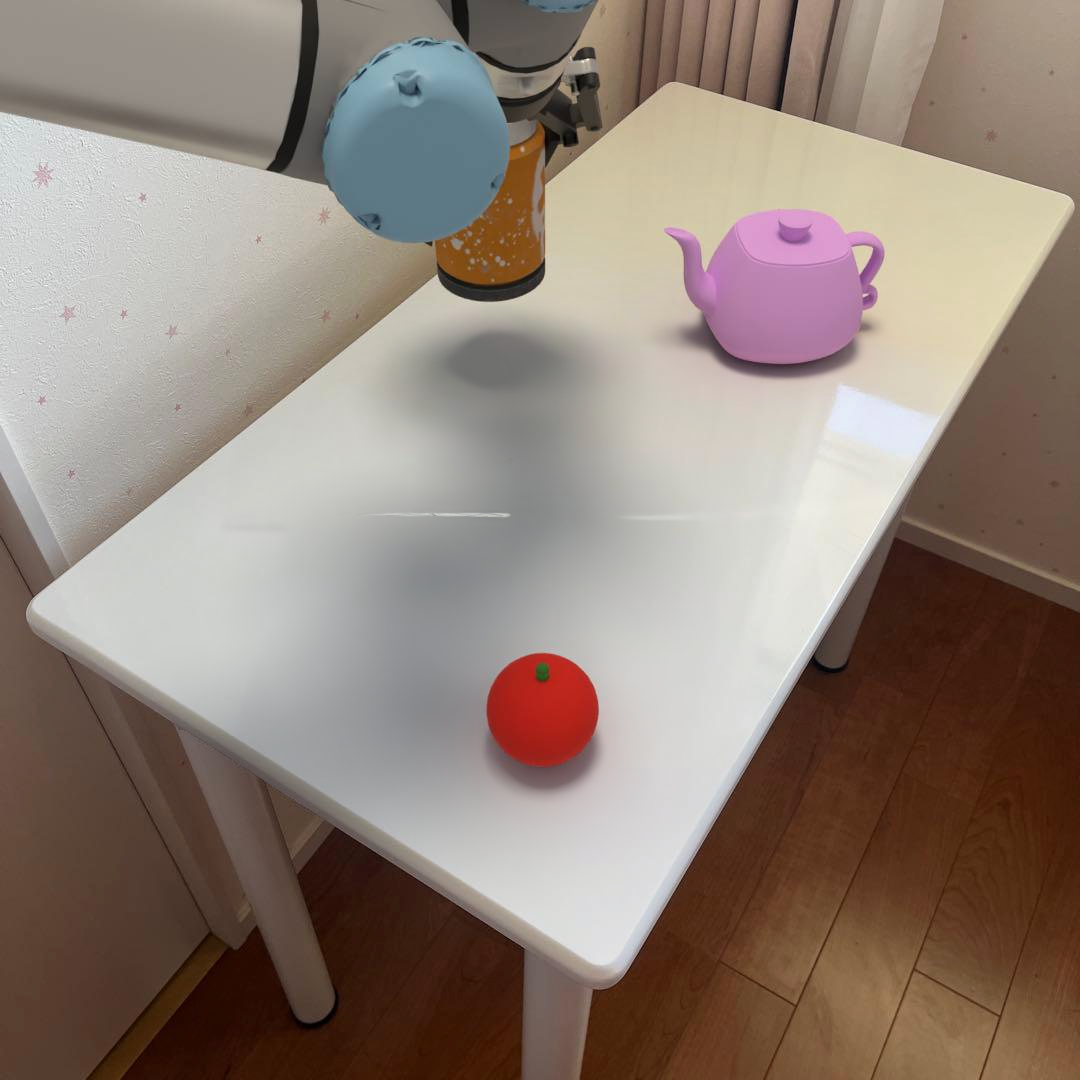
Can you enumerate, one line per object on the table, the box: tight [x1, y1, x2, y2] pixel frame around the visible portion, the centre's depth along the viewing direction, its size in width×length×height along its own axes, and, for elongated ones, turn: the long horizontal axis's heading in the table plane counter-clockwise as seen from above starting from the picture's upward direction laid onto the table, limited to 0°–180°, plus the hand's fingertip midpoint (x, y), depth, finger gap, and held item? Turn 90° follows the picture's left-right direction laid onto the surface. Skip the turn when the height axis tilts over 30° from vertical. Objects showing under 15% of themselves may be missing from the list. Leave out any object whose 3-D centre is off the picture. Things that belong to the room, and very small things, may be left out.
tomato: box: [486, 652, 600, 768], centre depth 68 cm, size 7×7×8 cm
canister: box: [424, 119, 546, 303], centre depth 85 cm, size 9×11×20 cm
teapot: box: [663, 208, 886, 365], centre depth 97 cm, size 20×13×12 cm, turn 96°
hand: (469, 159), depth 88 cm, fingers closed on canister, 10 cm apart
